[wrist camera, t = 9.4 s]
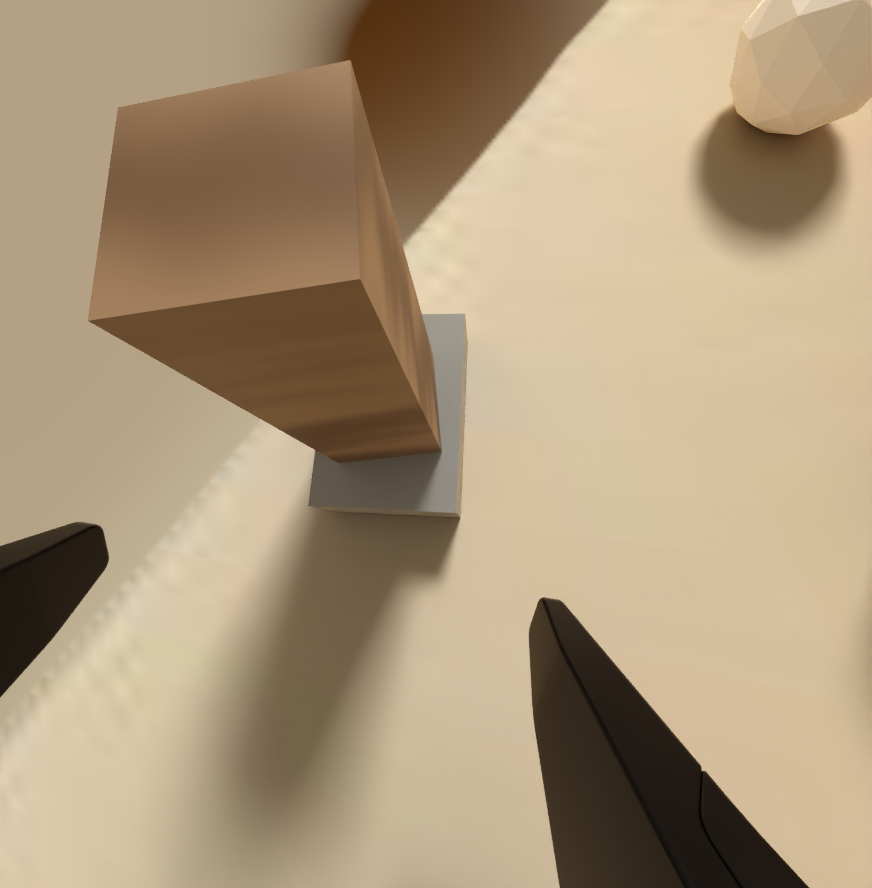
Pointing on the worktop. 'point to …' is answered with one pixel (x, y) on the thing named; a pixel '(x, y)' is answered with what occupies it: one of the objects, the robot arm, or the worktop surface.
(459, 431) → the grey base plate
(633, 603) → the worktop surface
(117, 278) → the walnut block
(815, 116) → the ball
